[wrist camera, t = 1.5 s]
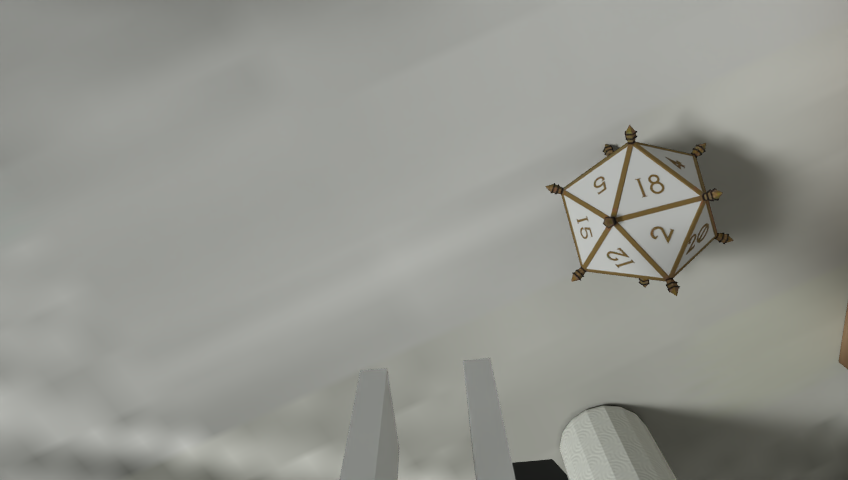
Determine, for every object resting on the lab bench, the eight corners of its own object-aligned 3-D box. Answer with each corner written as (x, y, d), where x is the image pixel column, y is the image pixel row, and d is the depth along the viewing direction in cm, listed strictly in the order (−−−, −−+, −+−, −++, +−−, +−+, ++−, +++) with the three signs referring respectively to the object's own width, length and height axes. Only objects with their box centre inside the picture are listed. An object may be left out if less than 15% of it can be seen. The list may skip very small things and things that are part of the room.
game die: (610, 149, 36) (757, 91, 27) (645, 278, 36) (806, 261, 27) (496, 172, 32) (626, 113, 23) (535, 316, 32) (681, 312, 23)
